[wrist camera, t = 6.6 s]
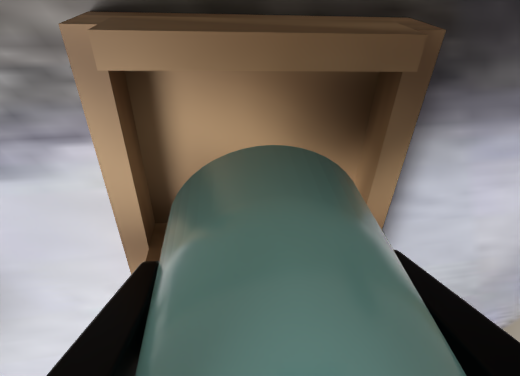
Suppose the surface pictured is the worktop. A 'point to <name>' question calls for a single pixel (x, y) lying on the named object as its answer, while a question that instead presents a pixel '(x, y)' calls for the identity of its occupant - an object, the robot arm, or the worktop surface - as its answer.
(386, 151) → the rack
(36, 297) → the worktop surface
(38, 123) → the worktop surface
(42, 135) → the worktop surface
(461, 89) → the worktop surface
